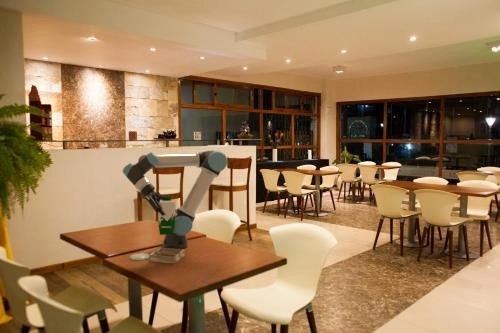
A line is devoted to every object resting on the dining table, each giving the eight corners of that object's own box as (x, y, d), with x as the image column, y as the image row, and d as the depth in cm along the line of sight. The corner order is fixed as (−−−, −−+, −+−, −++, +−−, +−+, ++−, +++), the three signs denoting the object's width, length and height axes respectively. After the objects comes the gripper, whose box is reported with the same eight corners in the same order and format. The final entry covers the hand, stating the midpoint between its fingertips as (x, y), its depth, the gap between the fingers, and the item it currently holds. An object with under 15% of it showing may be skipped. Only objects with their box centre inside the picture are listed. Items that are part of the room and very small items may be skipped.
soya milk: (174, 231, 216) (175, 195, 215) (174, 235, 207) (175, 198, 206) (158, 231, 214) (159, 195, 213) (158, 235, 205) (158, 198, 204)
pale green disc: (135, 253, 219) (135, 252, 219) (153, 255, 217) (153, 254, 217) (126, 259, 208) (126, 258, 208) (145, 261, 206) (145, 260, 206)
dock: (160, 253, 220) (160, 247, 220) (184, 255, 218) (184, 249, 217) (149, 261, 206) (149, 254, 206) (174, 263, 203) (175, 256, 203)
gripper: (149, 189, 223) (174, 218, 221) (131, 194, 201) (159, 226, 200) (157, 180, 222) (183, 209, 220) (140, 184, 200) (169, 216, 198)
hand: (172, 217), depth 210 cm, fingers closed on soya milk, 9 cm apart
